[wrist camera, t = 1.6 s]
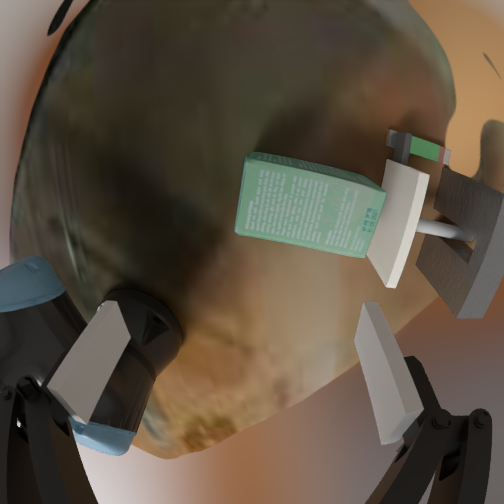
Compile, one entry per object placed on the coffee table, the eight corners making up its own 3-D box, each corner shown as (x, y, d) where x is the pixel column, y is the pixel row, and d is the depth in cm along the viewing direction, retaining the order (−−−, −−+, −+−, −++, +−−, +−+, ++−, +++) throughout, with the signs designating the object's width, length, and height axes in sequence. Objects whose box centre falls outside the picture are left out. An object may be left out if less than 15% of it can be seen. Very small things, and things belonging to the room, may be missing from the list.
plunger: (365, 252, 33) (386, 287, 25) (391, 130, 26) (426, 135, 18) (441, 262, 32) (469, 293, 25) (470, 159, 25) (509, 172, 18)
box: (249, 149, 29) (242, 157, 22) (365, 174, 29) (390, 190, 22) (239, 210, 32) (230, 236, 25) (349, 231, 32) (367, 261, 25)
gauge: (359, 257, 33) (391, 317, 23) (387, 128, 26) (445, 137, 15) (440, 268, 33) (482, 318, 22) (471, 159, 26) (532, 183, 15)
